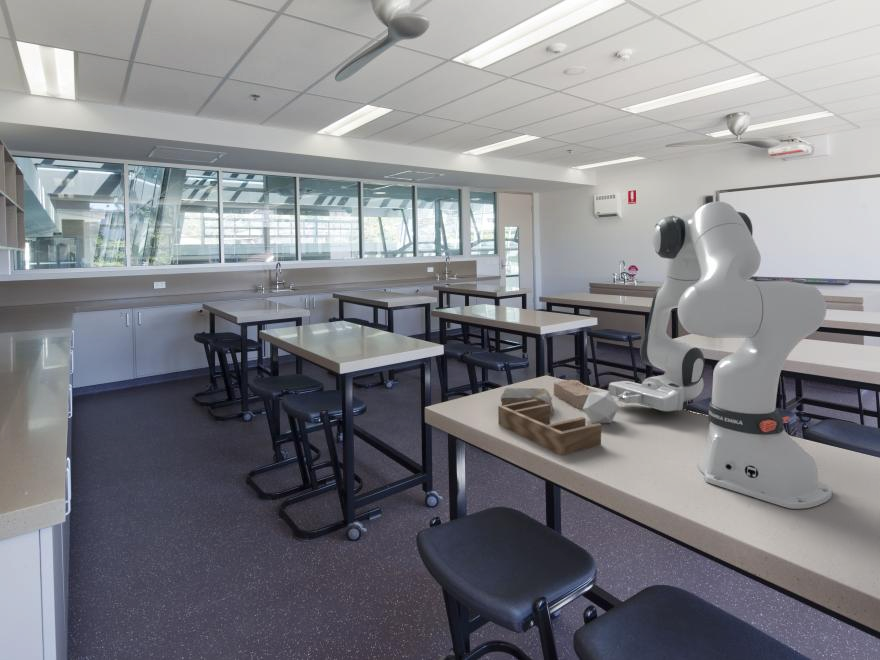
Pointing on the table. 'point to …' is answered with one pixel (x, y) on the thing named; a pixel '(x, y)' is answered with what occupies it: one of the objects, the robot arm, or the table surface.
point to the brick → (572, 392)
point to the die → (600, 407)
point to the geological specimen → (527, 396)
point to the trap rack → (548, 427)
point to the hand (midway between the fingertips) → (622, 399)
